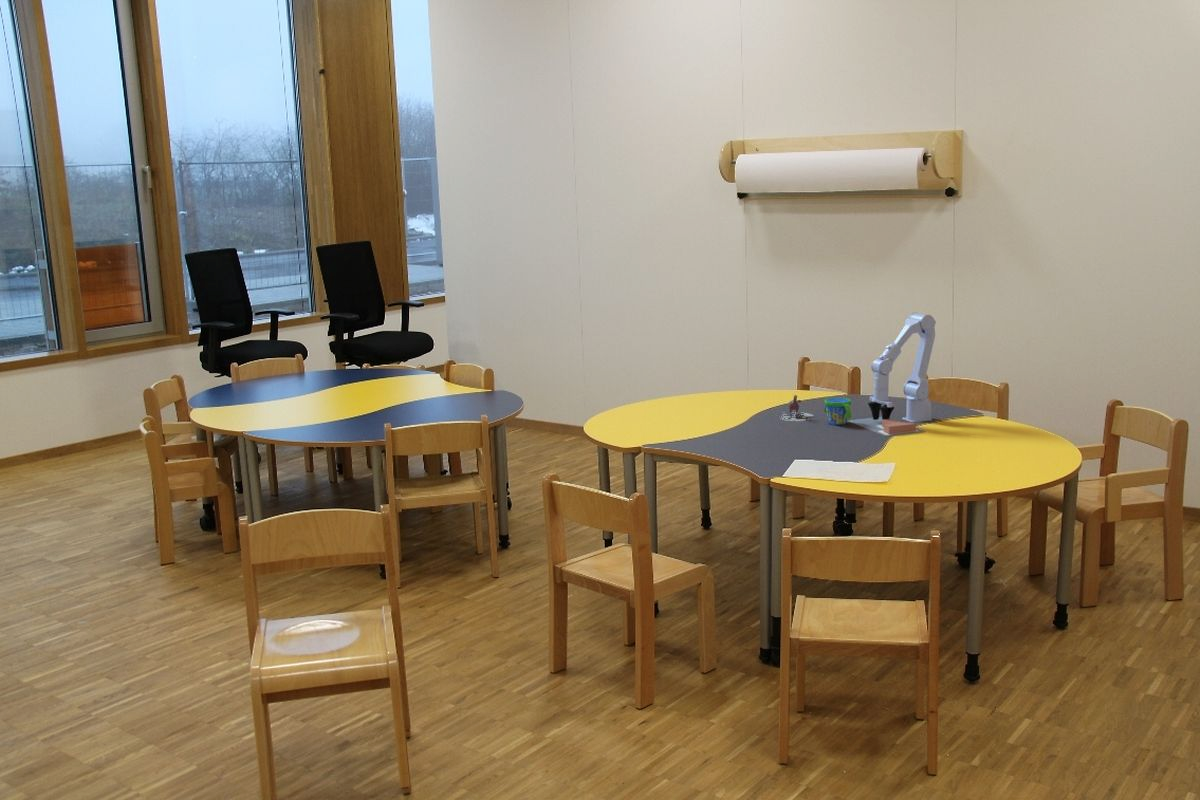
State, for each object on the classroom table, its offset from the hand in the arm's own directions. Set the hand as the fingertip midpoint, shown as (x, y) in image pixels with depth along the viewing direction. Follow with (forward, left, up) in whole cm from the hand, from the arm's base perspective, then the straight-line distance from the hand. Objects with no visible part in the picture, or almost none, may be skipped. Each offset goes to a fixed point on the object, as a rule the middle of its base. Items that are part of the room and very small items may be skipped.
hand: (880, 421), depth 461 cm
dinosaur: (+24, -29, -2) cm, 38 cm away
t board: (0, +4, -1) cm, 4 cm away
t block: (0, +12, -1) cm, 12 cm away
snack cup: (+15, -8, -2) cm, 17 cm away
